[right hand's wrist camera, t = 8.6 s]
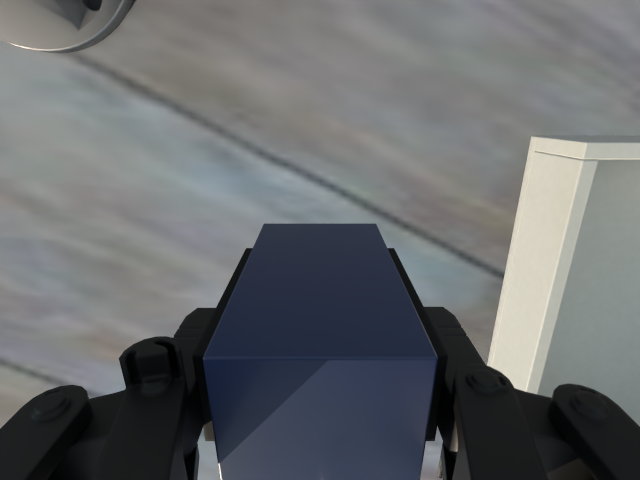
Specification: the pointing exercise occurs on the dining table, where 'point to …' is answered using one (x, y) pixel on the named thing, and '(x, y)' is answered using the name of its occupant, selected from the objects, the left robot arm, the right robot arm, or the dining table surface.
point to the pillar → (320, 361)
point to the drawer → (574, 271)
